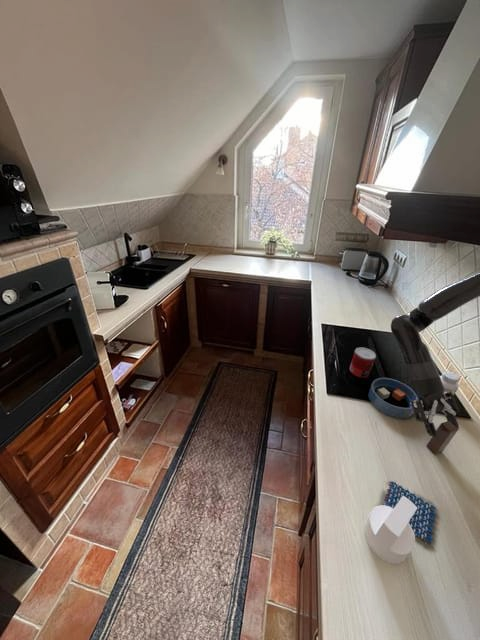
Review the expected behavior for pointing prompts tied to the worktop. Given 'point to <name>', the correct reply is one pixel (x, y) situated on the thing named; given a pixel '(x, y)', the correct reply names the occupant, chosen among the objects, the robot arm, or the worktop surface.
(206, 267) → the worktop surface
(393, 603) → the worktop surface
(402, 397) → the block
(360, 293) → the worktop surface
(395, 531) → the base with upright slab
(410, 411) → the bowl
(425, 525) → the woven mat
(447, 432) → the brown rectangular block
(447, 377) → the supplement bottle
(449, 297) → the robot arm
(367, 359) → the canned food
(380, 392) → the block
